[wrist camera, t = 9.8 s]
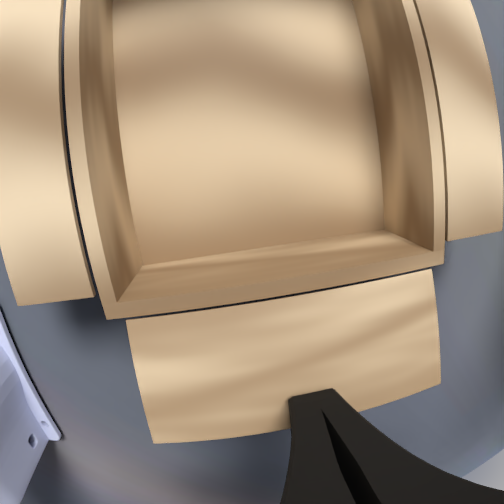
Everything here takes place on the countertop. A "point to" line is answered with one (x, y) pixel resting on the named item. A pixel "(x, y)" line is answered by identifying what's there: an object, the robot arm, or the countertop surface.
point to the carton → (239, 146)
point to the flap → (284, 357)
